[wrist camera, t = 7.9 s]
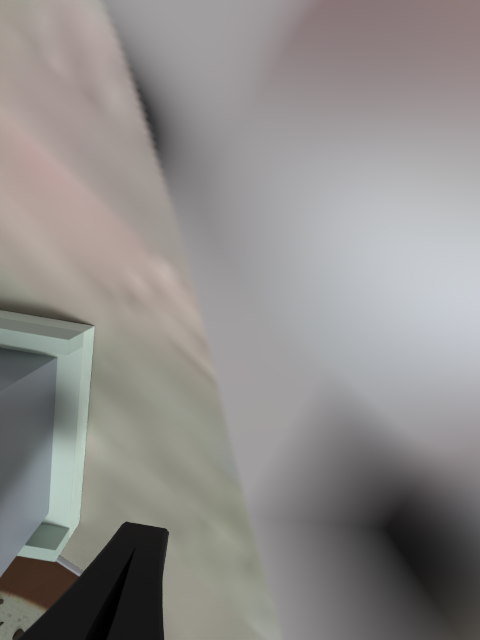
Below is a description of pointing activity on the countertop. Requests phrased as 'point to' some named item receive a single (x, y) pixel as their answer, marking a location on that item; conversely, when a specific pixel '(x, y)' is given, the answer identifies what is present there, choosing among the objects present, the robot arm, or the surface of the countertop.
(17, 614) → the food container
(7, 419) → the slab
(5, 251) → the countertop surface
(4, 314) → the runway
